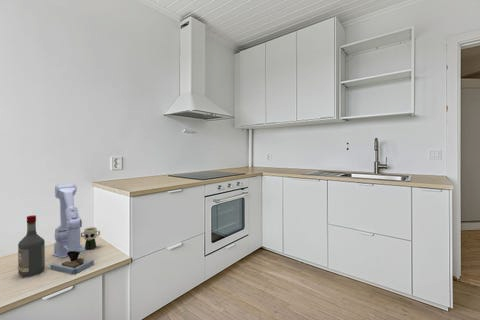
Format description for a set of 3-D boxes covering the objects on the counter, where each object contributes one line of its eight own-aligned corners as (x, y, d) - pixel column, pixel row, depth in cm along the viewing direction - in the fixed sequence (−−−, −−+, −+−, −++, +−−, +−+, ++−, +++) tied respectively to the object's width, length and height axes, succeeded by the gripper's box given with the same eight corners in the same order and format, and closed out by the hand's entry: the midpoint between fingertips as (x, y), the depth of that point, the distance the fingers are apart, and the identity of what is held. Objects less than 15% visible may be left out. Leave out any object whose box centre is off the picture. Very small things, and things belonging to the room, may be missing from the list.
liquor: (39, 266, 127) (38, 213, 126) (46, 271, 123) (45, 215, 122) (17, 273, 119) (16, 216, 118) (23, 279, 115) (23, 219, 114)
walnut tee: (76, 262, 132) (76, 256, 132) (87, 265, 129) (87, 259, 129) (61, 269, 125) (61, 263, 125) (73, 272, 122) (73, 266, 122)
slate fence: (50, 269, 125) (50, 264, 125) (71, 259, 136) (71, 255, 136) (73, 274, 120) (73, 270, 120) (93, 264, 131) (93, 260, 131)
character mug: (79, 251, 147) (79, 231, 146) (82, 247, 153) (82, 228, 153) (99, 249, 151) (99, 229, 151) (100, 245, 158) (100, 226, 157)
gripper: (90, 238, 130) (90, 262, 131) (71, 235, 135) (71, 258, 135) (78, 243, 124) (78, 268, 124) (59, 240, 128) (59, 263, 128)
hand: (74, 263), depth 129 cm, fingers closed
